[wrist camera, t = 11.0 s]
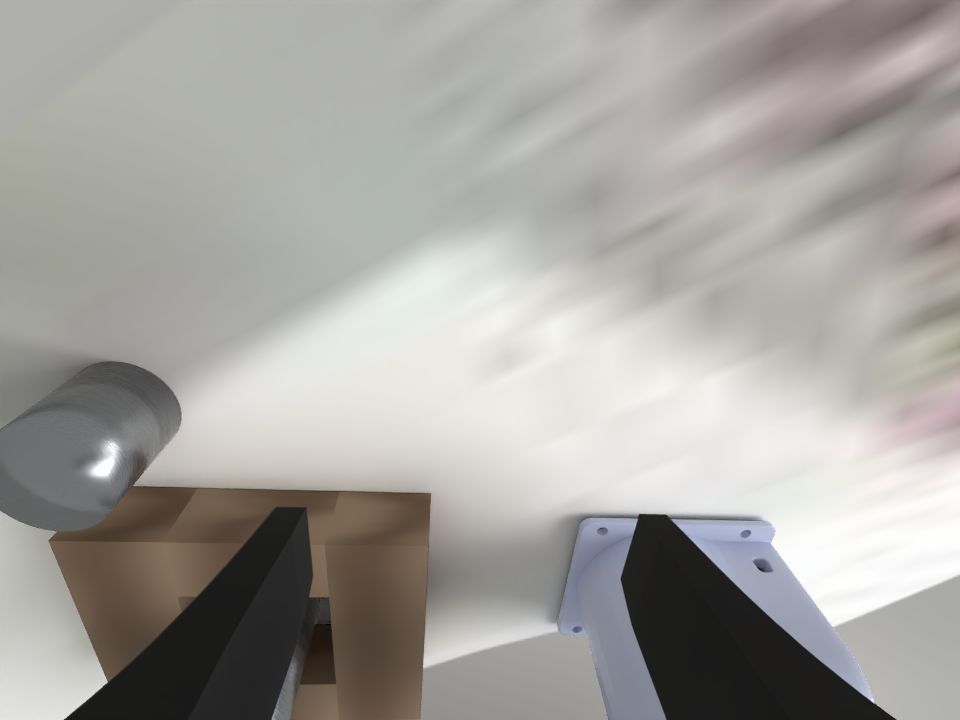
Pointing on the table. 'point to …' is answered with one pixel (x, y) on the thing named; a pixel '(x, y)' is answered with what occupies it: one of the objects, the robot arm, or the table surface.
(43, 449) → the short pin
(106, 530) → the wooden square frame
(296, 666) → the tall pin
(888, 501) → the table surface
